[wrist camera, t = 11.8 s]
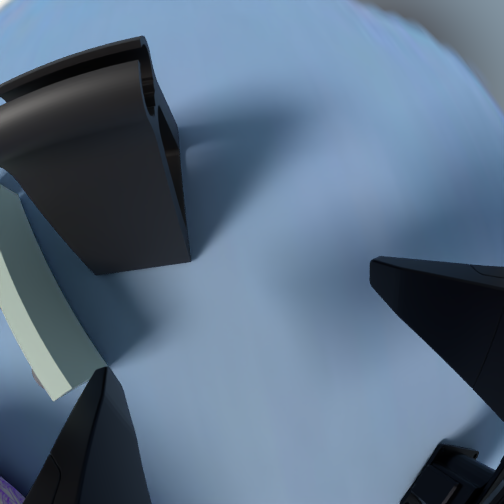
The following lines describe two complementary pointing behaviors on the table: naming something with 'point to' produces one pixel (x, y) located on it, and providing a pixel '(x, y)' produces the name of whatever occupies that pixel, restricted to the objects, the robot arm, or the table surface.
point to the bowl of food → (9, 493)
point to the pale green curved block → (40, 307)
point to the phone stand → (99, 156)
